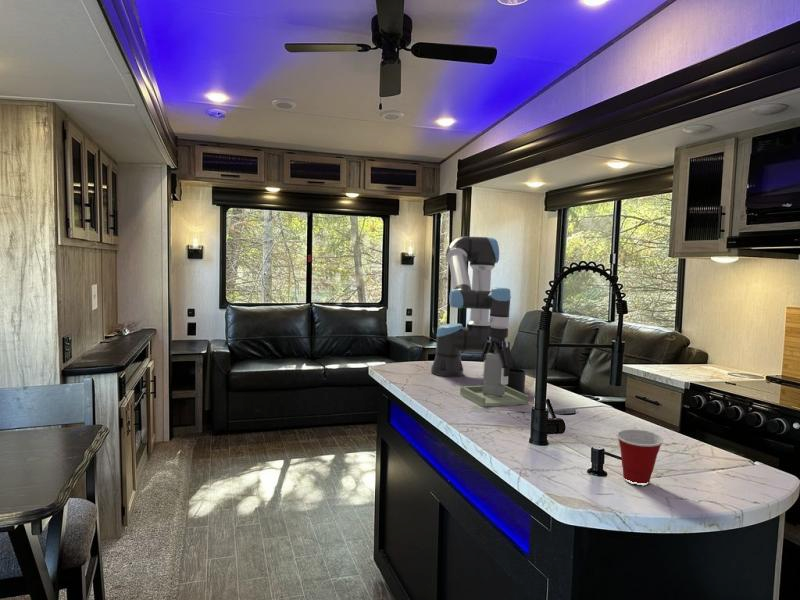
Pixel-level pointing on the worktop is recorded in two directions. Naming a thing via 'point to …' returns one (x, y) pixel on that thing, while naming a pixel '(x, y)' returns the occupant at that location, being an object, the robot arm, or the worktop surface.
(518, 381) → the mug
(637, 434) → the plastic cup
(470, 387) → the sage green tray
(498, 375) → the skincare box
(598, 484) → the worktop surface
